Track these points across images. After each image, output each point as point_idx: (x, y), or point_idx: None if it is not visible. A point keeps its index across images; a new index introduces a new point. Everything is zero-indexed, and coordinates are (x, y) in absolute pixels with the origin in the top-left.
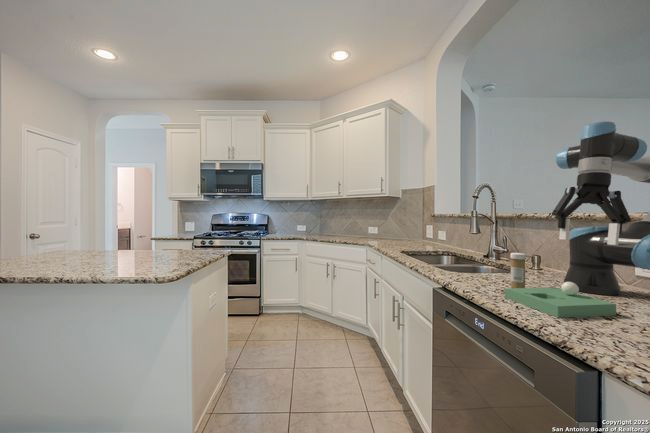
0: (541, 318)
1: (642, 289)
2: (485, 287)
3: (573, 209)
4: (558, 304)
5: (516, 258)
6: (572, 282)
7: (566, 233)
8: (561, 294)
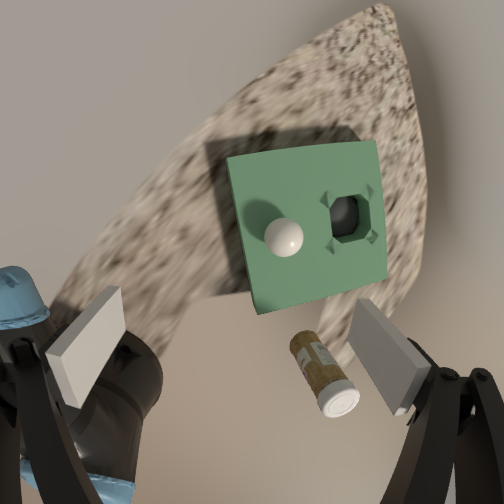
0: (390, 141)
1: None
2: None
3: (439, 426)
4: (366, 151)
5: (351, 382)
6: (284, 238)
7: (381, 313)
8: None
